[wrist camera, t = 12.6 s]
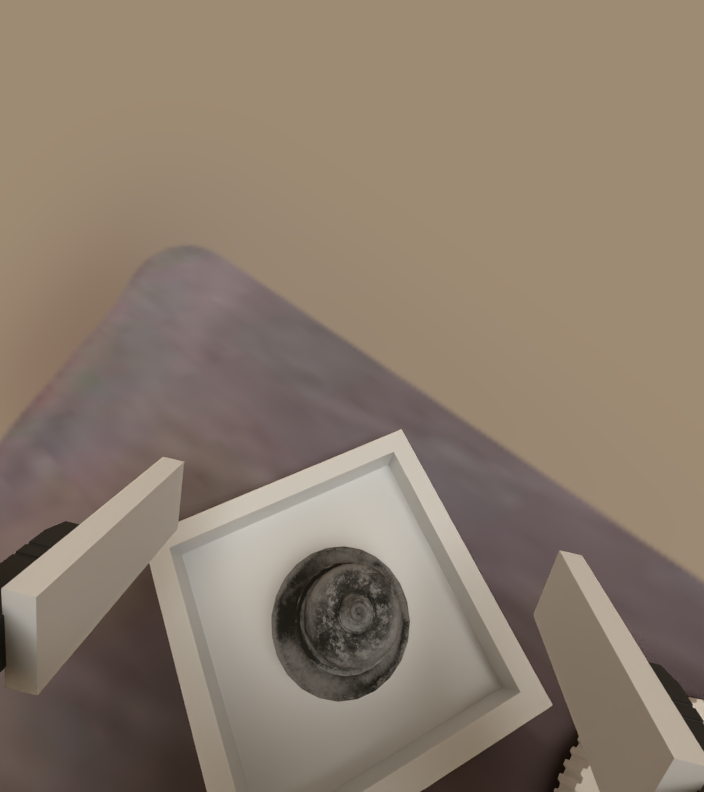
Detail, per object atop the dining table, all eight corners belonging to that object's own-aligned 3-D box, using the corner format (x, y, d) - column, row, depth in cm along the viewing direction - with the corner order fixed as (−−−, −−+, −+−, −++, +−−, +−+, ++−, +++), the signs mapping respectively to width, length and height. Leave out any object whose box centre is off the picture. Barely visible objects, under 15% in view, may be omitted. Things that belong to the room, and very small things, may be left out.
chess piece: (418, 647, 22) (517, 664, 11) (309, 718, 20) (304, 816, 10) (360, 537, 24) (398, 464, 13) (258, 593, 22) (208, 560, 12)
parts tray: (524, 696, 22) (552, 705, 19) (248, 870, 18) (236, 911, 16) (393, 448, 27) (401, 429, 25) (161, 547, 24) (142, 536, 21)
